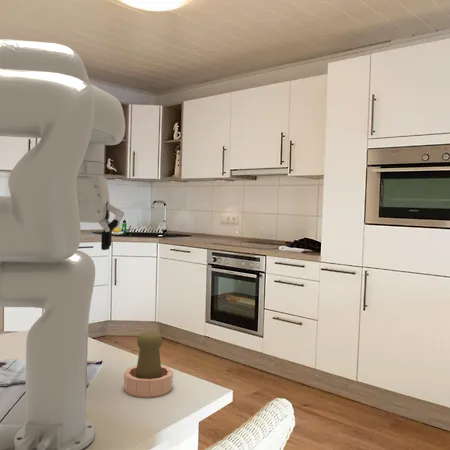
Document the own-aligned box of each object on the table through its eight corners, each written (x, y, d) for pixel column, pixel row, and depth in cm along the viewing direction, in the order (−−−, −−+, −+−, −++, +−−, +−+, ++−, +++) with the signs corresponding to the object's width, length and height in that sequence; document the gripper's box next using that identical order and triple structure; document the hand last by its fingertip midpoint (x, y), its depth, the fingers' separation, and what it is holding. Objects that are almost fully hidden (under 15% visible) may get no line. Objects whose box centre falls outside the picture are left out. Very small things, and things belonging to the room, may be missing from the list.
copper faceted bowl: (166, 399, 96) (167, 382, 96) (118, 395, 97) (119, 379, 97) (175, 381, 106) (176, 365, 106) (131, 378, 107) (132, 363, 107)
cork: (128, 385, 100) (129, 333, 100) (145, 376, 106) (147, 327, 105) (151, 391, 97) (153, 338, 97) (168, 382, 103) (169, 332, 102)
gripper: (40, 168, 101) (38, 248, 102) (118, 170, 99) (116, 252, 100) (56, 170, 109) (55, 245, 110) (129, 173, 107) (127, 248, 108)
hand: (84, 248), depth 105 cm, fingers open, 9 cm apart
